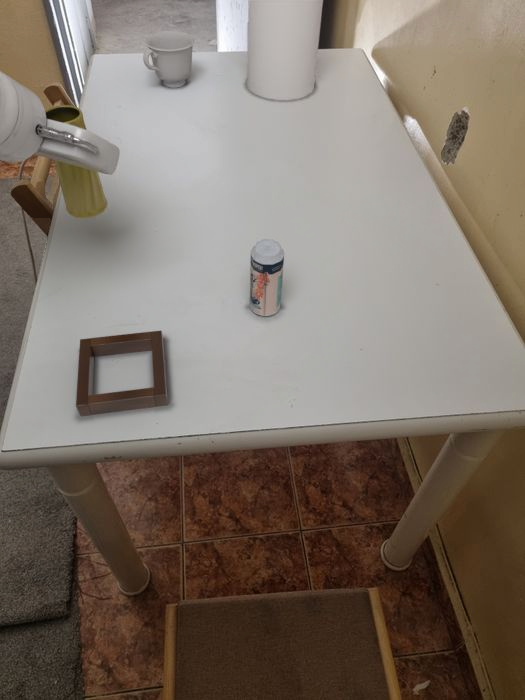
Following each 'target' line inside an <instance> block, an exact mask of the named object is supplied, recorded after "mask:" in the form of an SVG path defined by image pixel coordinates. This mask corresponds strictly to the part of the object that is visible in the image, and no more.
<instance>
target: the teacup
mask: <svg viewBox="0 0 525 700" xmlns="http://www.w3.org/2000/svg"><path fill="white" fill-rule="evenodd" d="M195 43H196V39H195V37H194V36H193V35H191V34H190V33H187V32H185V31H178V30H162V31H157V32H154V33H152V34H149V35H148V36H147V37H146V38H145V40H144V44H145V45H146V46H147V47H148V48H147V49H146V50H144V52H143V55H142V56H143V57H142V60H143V61H142V62H143V64H144V66H145V67H146V68H147V70H150V71H154V72H155V74H156V76H157V77H158V78H159V79H160V80H162V84H163V85H164V86H165V87H167V88H171V89H173V88H175V89H177V88H180V87H183V86H185V85H186V82H187V81H186V79H188V77H189V76H190V75H191V72H192V66H193V48H194V45H195ZM149 57H151V62H152V65H151V64H150V61H149V59H150V58H149Z"/></svg>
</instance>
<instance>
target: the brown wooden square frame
mask: <svg viewBox="0 0 525 700" xmlns="http://www.w3.org/2000/svg"><path fill="white" fill-rule="evenodd" d="M164 343H165V342H164V337H163V332H162V330H153V331H143V332H134V333H124V334H114V335H105V336H98V337H97V336H96V337H90V338H80V340H79V351H78V364H77V365H78V368H77V383H76V395H75V396H76V399H75V407H76V409H77V411H78V414H79V416H80V417H85V416H86V417H87V416H92V415H93V416H94V415H102V414H108V413H116V412H124V411H125V412H126V411H132V410H140V409H147V408H155V407H156V408H157V407H163V406H164V407H165V406H168V405H169V400H168V386H167V384H168V383H167V371H166V370H167V369H166V358H165V357H166V356H165V345H164ZM149 351H151V353H152V354H151V357H152V358H151V359H152V375H153V378H152V379H153V387H146V388H138V389H129V390H128V389H127V390H121V391H113V392H105V393H97V394H94V376H95V375H94V373H95V358H96V357H104V356H105V357H106V356H115V355H122V354H130V353H131V354H132V353H141V352H149Z"/></svg>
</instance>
